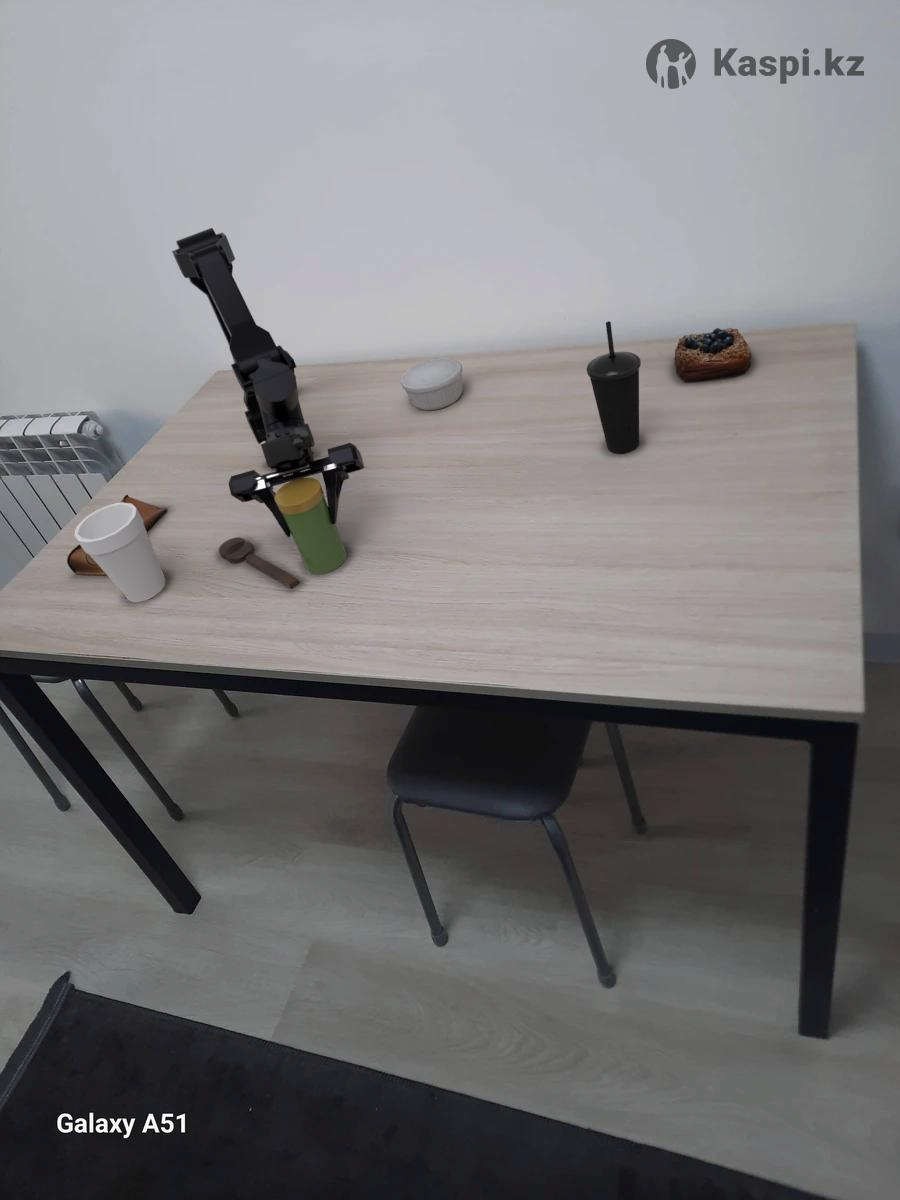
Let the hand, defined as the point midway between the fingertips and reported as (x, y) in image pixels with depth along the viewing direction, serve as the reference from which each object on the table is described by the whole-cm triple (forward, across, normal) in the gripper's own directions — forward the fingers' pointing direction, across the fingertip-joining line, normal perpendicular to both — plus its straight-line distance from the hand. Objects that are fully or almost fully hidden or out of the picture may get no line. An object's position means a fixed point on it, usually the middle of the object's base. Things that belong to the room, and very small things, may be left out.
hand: (311, 530), depth 122 cm
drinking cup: (-2, +48, +12) cm, 49 cm away
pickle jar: (+4, 0, +6) cm, 7 cm away
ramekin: (-25, +22, +34) cm, 48 cm away
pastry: (-14, +68, +23) cm, 73 cm away
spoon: (+2, -10, +8) cm, 13 cm away
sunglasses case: (-11, -36, +21) cm, 43 cm away
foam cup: (0, -29, +10) cm, 31 cm away
